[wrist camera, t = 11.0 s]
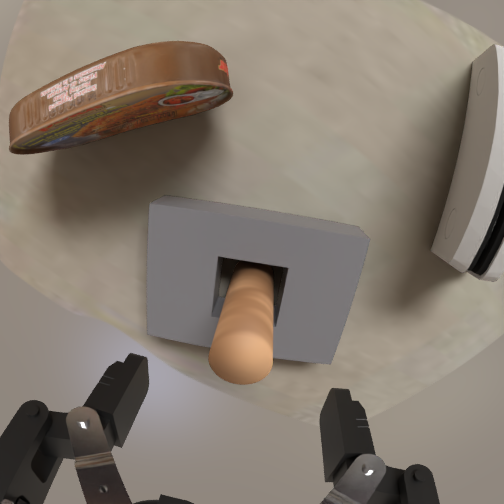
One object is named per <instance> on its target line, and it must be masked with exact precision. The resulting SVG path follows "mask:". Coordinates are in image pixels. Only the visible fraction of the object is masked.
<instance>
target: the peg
mask: <svg viewBox="0 0 504 504" xmlns="http://www.w3.org/2000/svg"><path fill="white" fill-rule="evenodd" d="M273 300H274V274H273V269H272V267H271V266H270V265H268V264H262V263H256V262H250V261H244V260H240V261H239V262H238V263H237V264H236V266H235V268H234V271H233V274H232V277H231V281H230V284H229V288H228V291H227V294H226V298H225V301H224V304H223V308H222V311H221V314H220V318H219V321H218V325H217V328H216V331H215V335H214V338H213V342H212V345H211V348H210V352H209V364H210V366H211V368H212V370H213V371H214V372H215V374H216V375H218V376H219V377H220V378H222V379H224V380H225V381H228V382H231V383H234V384H252V383H256V382H258V381H260V380H262V379H263V378H265V377H266V376H267V375H268V374H269V372H270V371H271V369H272V365H273Z"/></svg>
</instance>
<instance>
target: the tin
mask: <svg viewBox="0 0 504 504" xmlns="http://www.w3.org/2000/svg"><path fill="white" fill-rule="evenodd" d="M232 96H233V91H232V89H231V88H230V83H229V75H228V68H227V63H226V60H225V58H224V57H223V56H222V55H221V54H220V53H219V52H218V51H216V50H215V49H214V48H212V47H210V46H208V45H205V44H201V43H195V42H186V41H167V42H158V43H151V44H146V45H141V46H137V47H133V48H130V49H127V50H125V51H122V52H119V53H116V54H114V55H111V56H108V57H105V58H103V59H100V60H98V61H96V62H93V63H91V64H89V65H86V66H84V67H82V68H79V69H77V70H75V71H73V72H71V73H69V74H66V75H64V76H62V77H60V78H59V79H57V80H55V81H53V82H51V83H49V84H47V85H45V86H43V87H41V88H40V89H38V90H36V91H34V92H32V93H31V94H29V95H27V96H26V97H24V98H23V99H21V100H20V101H19V102H18V103H17V104H16V105H15V106H14V107H13V108H12V110H11V112H10V116H9V133H10V146H9V151H10V152H11V153H14V154H35V153H42V152H48V151H54V150H60V149H65V148H70V147H74V146H78V145H82V144H86V143H89V142H93V141H96V140H99V139H103V138H106V137H109V136H112V135H115V134H119V133H122V132H126V131H129V130H133V129H136V128H140V127H144V126H147V125H151V124H155V123H160V122H164V121H168V120H172V119H176V118H181V117H185V116H189V115H193V114H197V113H200V112H203V111H207V110H210V109H213V108H215V107H218V106H220V105H222V104H224V103H225V102H227V101H229V100H230V99H231V97H232Z"/></svg>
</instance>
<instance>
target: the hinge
mask: <svg viewBox="0 0 504 504" xmlns="http://www.w3.org/2000/svg"><path fill="white" fill-rule="evenodd" d="M430 251H431V252H432V253H434V254H435V255H437V256H438V257H440V258H441V259H442V260H444V261H445V262H447V263H448V264H450V265H451V266H452V267H454V268H455V269H457V270H458V271H460V272H461V273H464V272H465V271H467V272H468V273H470V274H471V275H473V276H474V277H476V278H478V279H479V280H485V281H492V282H495V281H497V280H498V279H499V278H500V277H501V275H502V274H503V272H504V47H503V46H499V45H495V44H493V45H492V46H491V47H490V48H488V49H487V50H486V51H485V52H484V53H482V54H481V55H480V56H479V57H478V58H476V59H475V60H474V61H473V63H472V74H471V83H470V91H469V98H468V105H467V112H466V118H465V124H464V129H463V134H462V139H461V144H460V149H459V154H458V158H457V162H456V167H455V171H454V175H453V179H452V183H451V186H450V190H449V194H448V197H447V201H446V204H445V207H444V211H443V214H442V217H441V221H440V224H439V227H438V230H437V233H436V236H435V239H434V242H433V245H432V247H431V250H430Z"/></svg>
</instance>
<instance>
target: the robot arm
mask: <svg viewBox="0 0 504 504" xmlns="http://www.w3.org/2000/svg"><path fill="white" fill-rule="evenodd" d="M148 387H149V374H148V360H147V358H146V357H144V356H140V355H136V354H133V353H130V354H129V355H128V356H127V358H126V360H125V361H124V363H122V362H119V361H117V362H115V363H114V364H112V365H111V366H109V367H108V368H107V370H106V371H105V373H104V375H103V376H102V378H101V379H100V381H99V383H98V384H97V385H96V387H95V388H94V390H93V391H92V393H91V394H90V396H89V397H88V399H87V401H86V402H85V404H84V405H83V406H82V407H77V408H74V409H72V410H71V411H70V412H69V413H62V412H53V411H49V410H48V408H47V406H46V405H45V404H44V403H43V402H40V401H37V400H30V401H27V402H25V403H24V404H23V405H22V406H21V407H20V408H19V410H18V411H17V413H16V414H15V416H14V417H13V419H12V420H11V422H10V423H9V425H8V426H7V428H6V429H5V431H4V432H3V434H2V435H1V437H0V504H43V503H44V500H45V498H46V496H47V493H48V491H49V489H50V487H51V484H52V482H53V480H54V478H55V476H56V473H57V471H58V469H59V467H60V465H61V463H62V461H63V458H68V459H75V461H76V462H75V468H76V471H77V475H78V478H79V482H80V485H81V488H82V491H83V494H84V497H85V500H86V503H87V504H132V502H131V500H130V498H129V495H128V493H127V491H126V488H125V486H124V484H123V481H122V479H121V477H120V474H119V472H118V469H117V467H116V464H115V461H114V459H113V456H112V454H111V451H112V448H113V446H114V445H115V446H118V447H121V448H122V446H123V444H124V442H125V440H126V438H127V435H128V433H129V431H130V429H131V427H132V424H133V422H134V420H135V418H136V416H137V414H138V411H139V409H140V407H141V405H142V402H143V401H144V399H145V397H146V394H147V391H148ZM368 427H369V425H368V421H367V417H366V413H365V409H364V408H363V407H362V405H361V404H360V403H359V401H352V399H351V395H350V391H349V389H339V388H331V390H330V392H329V394H328V396H327V399H326V401H325V403H324V406H323V408H322V410H321V414H320V432H321V442H322V452H323V463H324V475H325V482H333V484H334V488H333V489H332V490H331V491H330V492H329V494H328V495H327V496H326V497H325V498H324V500H323V501H322V502H321V503H320V504H440V503H439V499H438V494H437V490H436V486H435V482H434V478H433V475H432V472H431V471H430V470H429V469H428V468H427V467H426V466H423V465H420V464H415V465H411V466H409V467H408V468H407V469H406V470H401V469H397V468H392V467H388V466H386V465H385V463H384V461H383V460H382V459H381V458H380V457H378V456H376V454H375V450H374V446H373V441H372V437H371V433H370V429H369V428H368ZM134 504H194V503H191V502H189V501H186V500H182V499H177V498H173V497H169V496H165V495H160V498H159V500H146V501H140V502H136V503H134Z"/></svg>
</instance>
